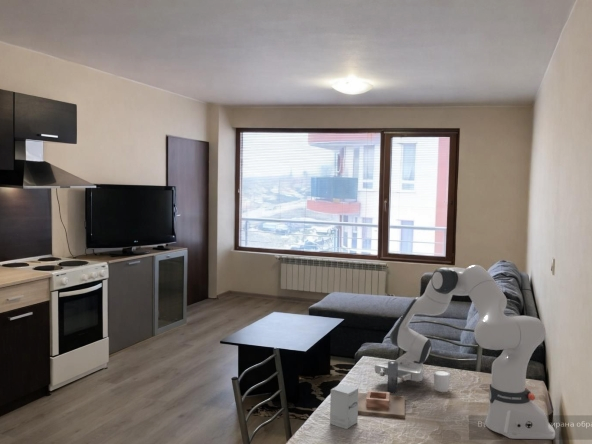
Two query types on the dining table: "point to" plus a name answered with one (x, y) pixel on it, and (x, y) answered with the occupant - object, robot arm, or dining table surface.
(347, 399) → the supplement box
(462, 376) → the dining table surface
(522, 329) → the robot arm
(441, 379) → the shot glass
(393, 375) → the peg
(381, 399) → the keeper board
